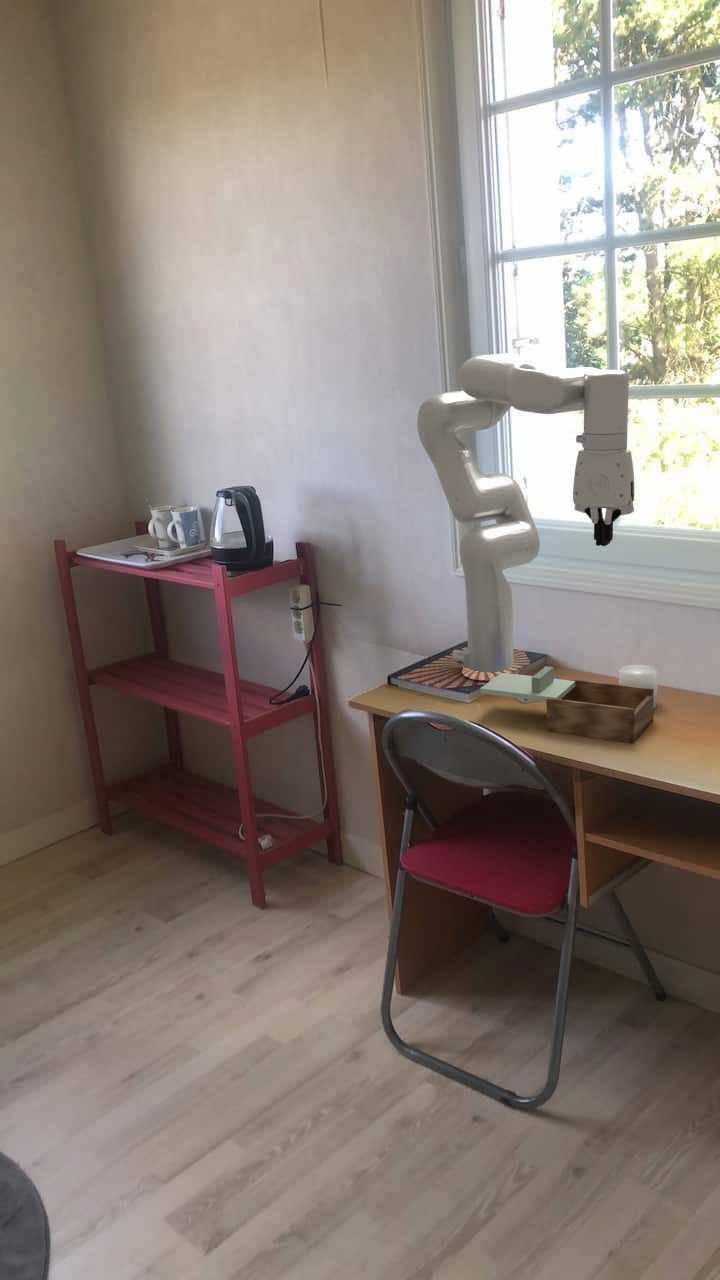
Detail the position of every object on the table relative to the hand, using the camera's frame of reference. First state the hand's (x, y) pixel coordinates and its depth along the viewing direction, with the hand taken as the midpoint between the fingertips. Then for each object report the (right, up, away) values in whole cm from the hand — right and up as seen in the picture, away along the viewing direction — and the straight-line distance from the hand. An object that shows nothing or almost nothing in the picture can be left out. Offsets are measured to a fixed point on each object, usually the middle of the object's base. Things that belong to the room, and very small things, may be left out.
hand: (603, 544), depth 197 cm
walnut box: (0, -33, +2) cm, 33 cm away
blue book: (-8, -28, +22) cm, 37 cm away
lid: (-12, -27, +8) cm, 30 cm away
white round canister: (+9, -30, +11) cm, 33 cm away
